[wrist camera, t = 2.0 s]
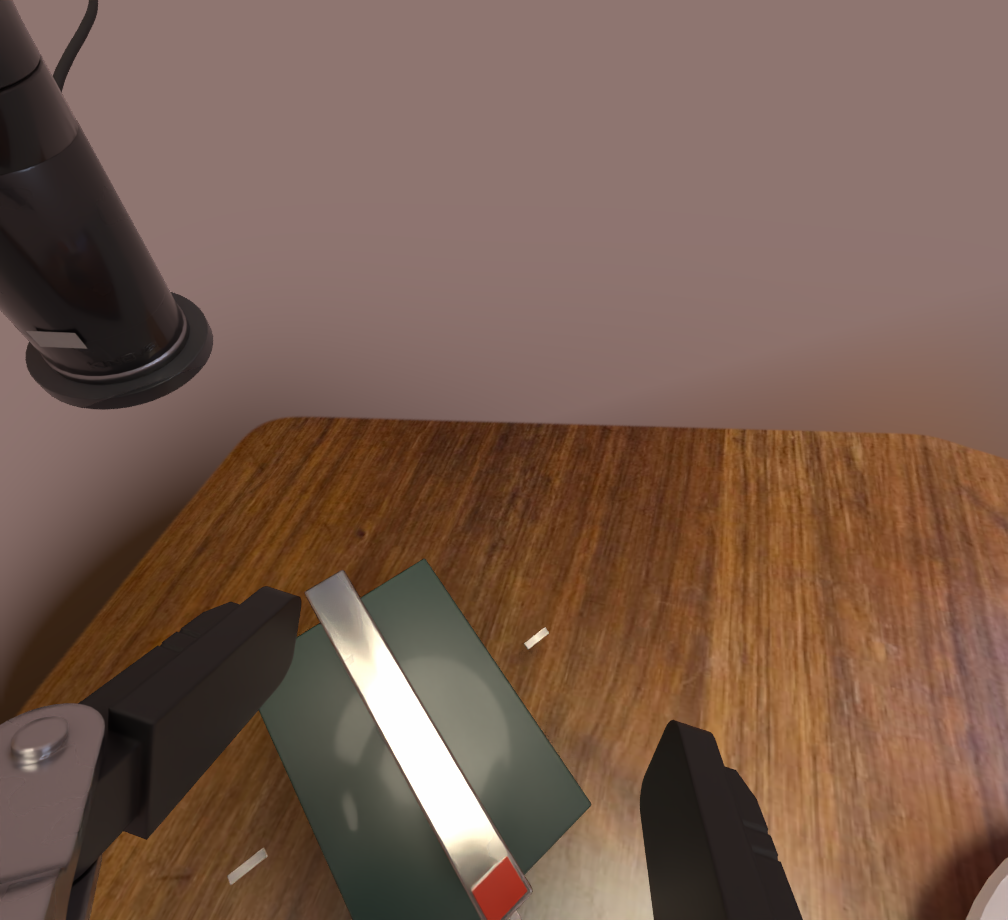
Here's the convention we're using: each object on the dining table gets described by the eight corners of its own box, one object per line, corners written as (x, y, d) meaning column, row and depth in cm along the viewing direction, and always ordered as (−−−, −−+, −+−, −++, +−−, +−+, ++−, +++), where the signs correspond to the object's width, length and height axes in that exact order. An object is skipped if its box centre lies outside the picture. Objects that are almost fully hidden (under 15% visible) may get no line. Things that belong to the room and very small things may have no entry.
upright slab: (334, 635, 24) (301, 589, 18) (364, 616, 24) (341, 566, 18) (472, 887, 19) (492, 941, 13) (504, 856, 20) (536, 893, 14)
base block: (189, 701, 24) (159, 692, 21) (457, 535, 31) (460, 513, 28) (340, 1087, 18) (324, 1142, 15) (633, 777, 25) (657, 778, 22)
